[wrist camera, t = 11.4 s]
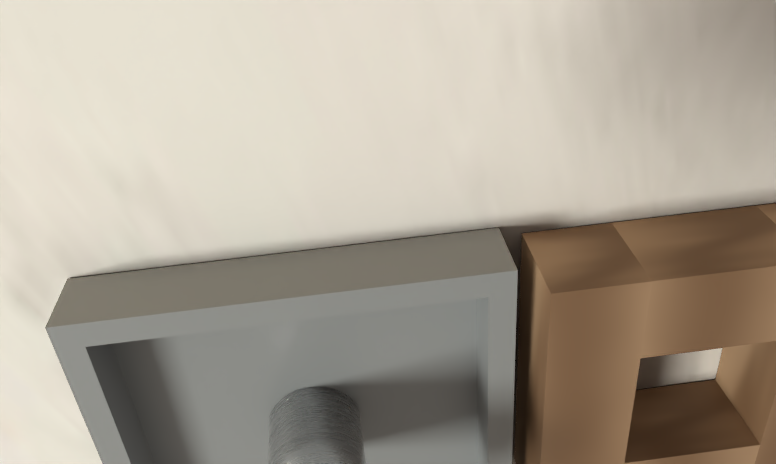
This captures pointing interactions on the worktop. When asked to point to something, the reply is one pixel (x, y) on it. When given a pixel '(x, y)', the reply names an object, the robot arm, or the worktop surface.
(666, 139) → the worktop surface
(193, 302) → the tray
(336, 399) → the pin
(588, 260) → the block
